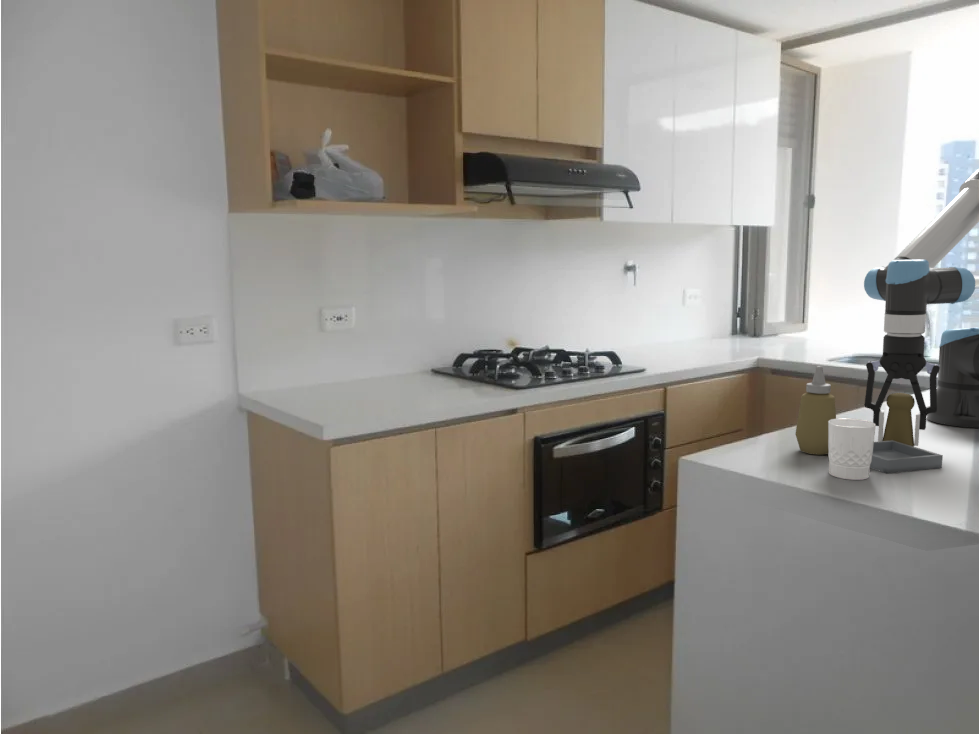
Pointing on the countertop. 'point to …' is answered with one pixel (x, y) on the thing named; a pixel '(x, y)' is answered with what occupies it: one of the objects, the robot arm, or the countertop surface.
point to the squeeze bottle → (815, 415)
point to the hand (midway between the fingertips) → (898, 442)
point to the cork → (899, 419)
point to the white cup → (850, 448)
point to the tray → (902, 457)
